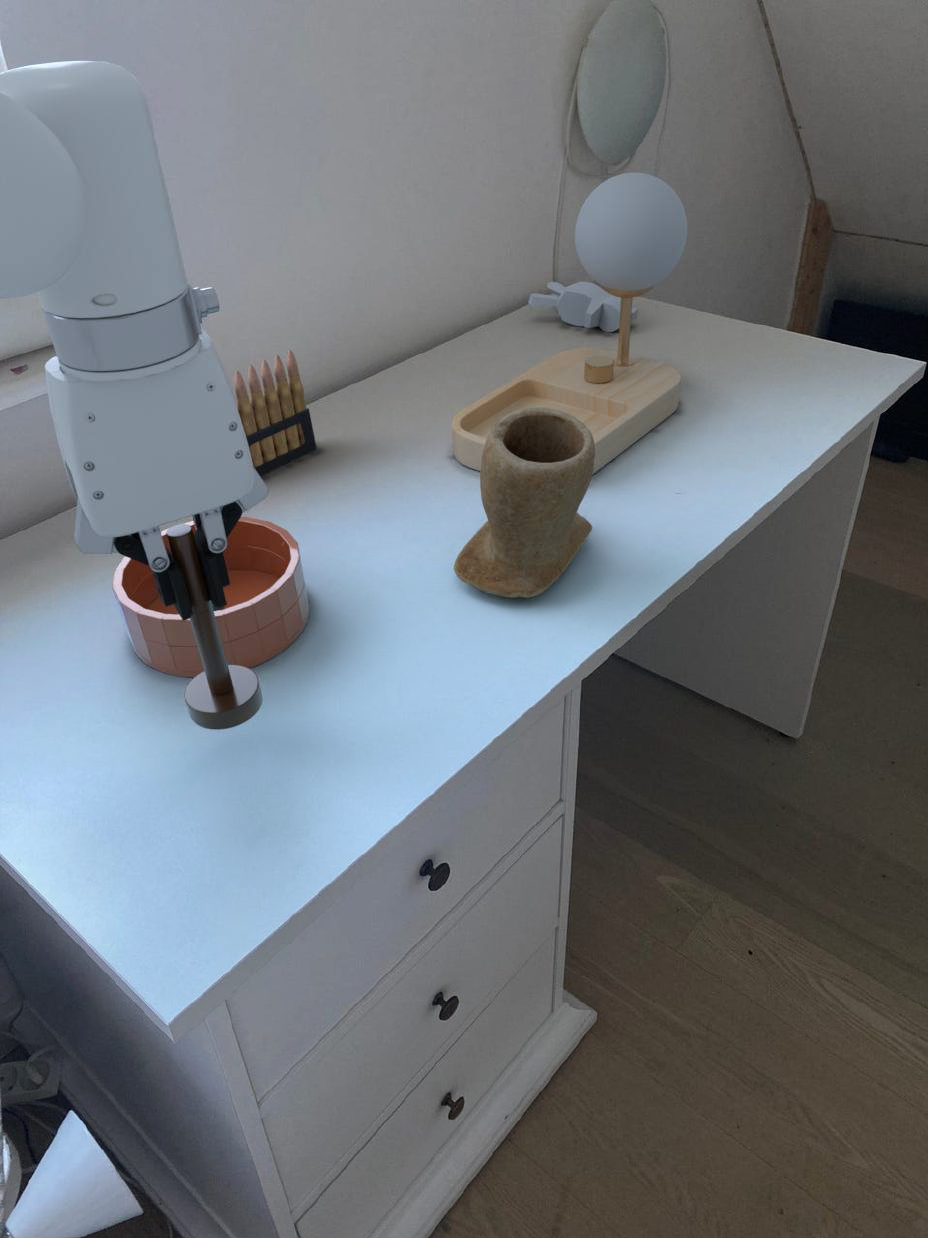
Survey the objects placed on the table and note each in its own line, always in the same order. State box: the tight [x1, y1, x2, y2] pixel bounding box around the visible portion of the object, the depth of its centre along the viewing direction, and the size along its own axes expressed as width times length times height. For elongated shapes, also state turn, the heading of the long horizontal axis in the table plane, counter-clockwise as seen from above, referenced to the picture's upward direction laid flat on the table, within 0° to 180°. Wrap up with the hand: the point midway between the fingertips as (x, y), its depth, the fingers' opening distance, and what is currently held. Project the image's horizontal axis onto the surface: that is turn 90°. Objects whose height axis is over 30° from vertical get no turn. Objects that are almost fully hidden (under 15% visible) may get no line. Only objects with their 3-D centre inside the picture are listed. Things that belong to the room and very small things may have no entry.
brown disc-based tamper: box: [166, 523, 263, 731], centre depth 63 cm, size 5×5×15 cm
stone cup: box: [453, 407, 595, 599], centre depth 85 cm, size 15×12×15 cm
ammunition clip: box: [234, 349, 317, 477], centre depth 104 cm, size 11×2×12 cm, turn 137°
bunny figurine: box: [527, 280, 639, 333], centre depth 137 cm, size 10×5×15 cm
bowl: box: [111, 516, 310, 678], centre depth 82 cm, size 16×16×6 cm
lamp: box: [451, 172, 688, 475], centre depth 105 cm, size 33×17×25 cm, turn 142°
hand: (197, 601), depth 62 cm, fingers closed on brown disc-based tamper
